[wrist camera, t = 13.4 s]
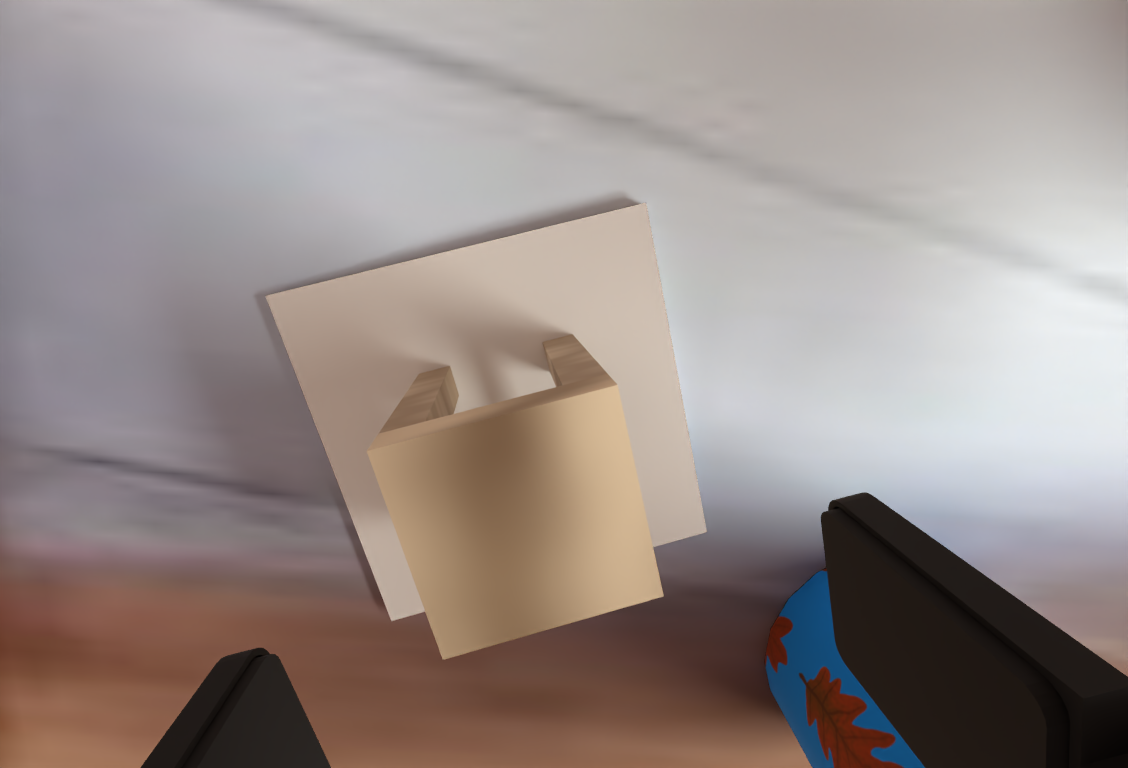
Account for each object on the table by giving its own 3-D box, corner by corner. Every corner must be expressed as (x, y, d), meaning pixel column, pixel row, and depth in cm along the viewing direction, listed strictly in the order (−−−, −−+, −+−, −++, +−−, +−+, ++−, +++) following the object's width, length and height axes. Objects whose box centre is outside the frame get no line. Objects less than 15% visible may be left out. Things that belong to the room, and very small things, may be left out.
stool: (572, 334, 20) (617, 384, 12) (605, 474, 22) (663, 596, 14) (419, 373, 20) (366, 451, 12) (463, 512, 21) (443, 659, 14)
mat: (641, 203, 20) (645, 202, 19) (701, 525, 23) (706, 532, 23) (272, 294, 19) (265, 295, 18) (394, 611, 23) (391, 621, 22)
